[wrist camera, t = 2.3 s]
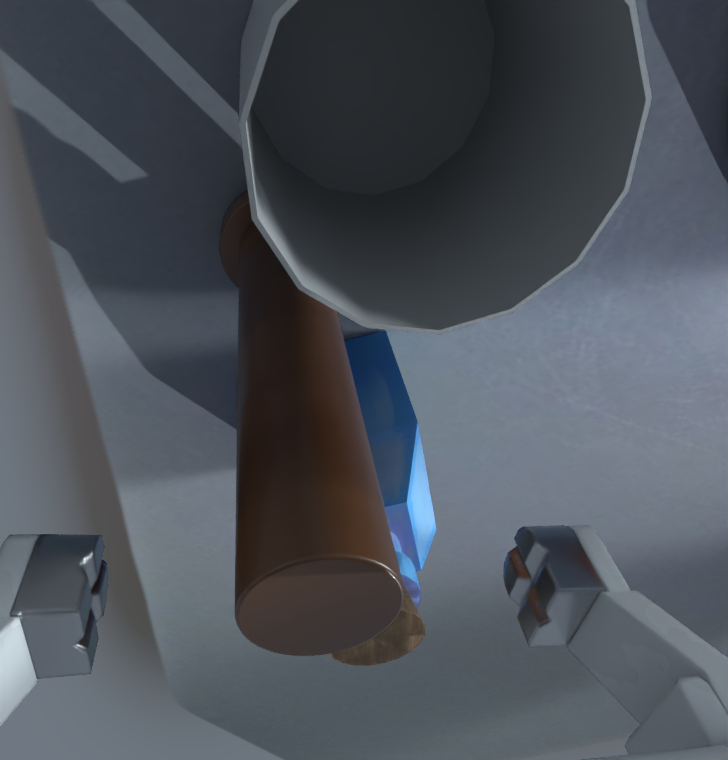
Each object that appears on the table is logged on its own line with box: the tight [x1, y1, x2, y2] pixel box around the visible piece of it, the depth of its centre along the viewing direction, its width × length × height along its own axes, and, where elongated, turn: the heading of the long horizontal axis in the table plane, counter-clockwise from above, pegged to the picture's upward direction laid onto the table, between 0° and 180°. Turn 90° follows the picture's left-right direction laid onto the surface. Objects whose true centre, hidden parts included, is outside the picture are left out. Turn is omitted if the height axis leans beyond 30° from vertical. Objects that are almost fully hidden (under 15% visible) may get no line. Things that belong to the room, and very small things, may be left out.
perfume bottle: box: [329, 331, 436, 665], centre depth 24 cm, size 6×6×12 cm
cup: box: [239, 0, 652, 335], centre depth 16 cm, size 8×8×10 cm
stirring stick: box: [220, 190, 405, 656], centre depth 17 cm, size 4×4×16 cm
